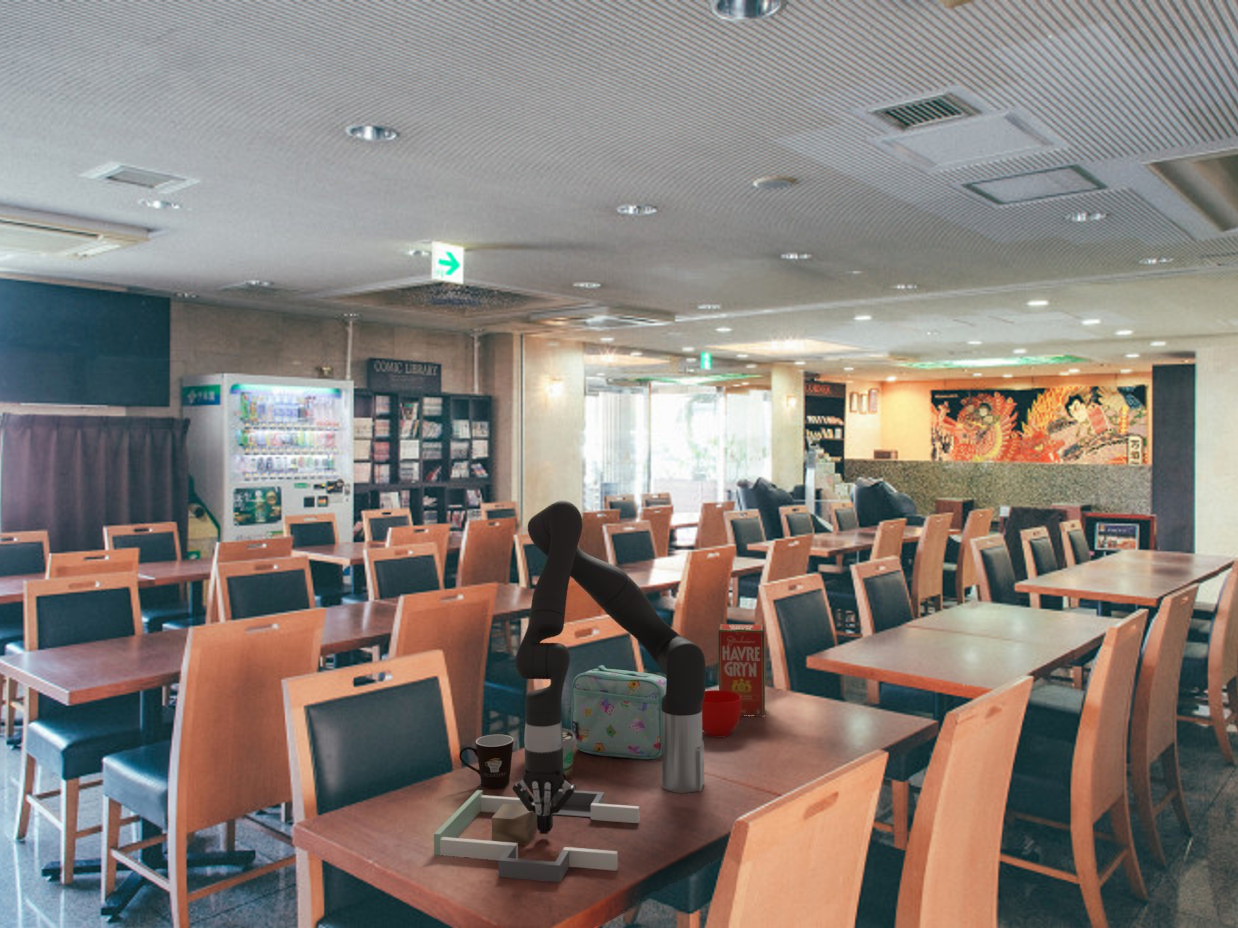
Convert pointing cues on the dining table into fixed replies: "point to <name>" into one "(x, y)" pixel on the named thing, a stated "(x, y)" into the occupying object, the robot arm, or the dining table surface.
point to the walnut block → (514, 824)
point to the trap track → (508, 852)
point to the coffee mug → (493, 760)
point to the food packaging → (743, 665)
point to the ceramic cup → (720, 712)
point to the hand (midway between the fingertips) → (544, 832)
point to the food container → (568, 752)
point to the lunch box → (618, 713)
